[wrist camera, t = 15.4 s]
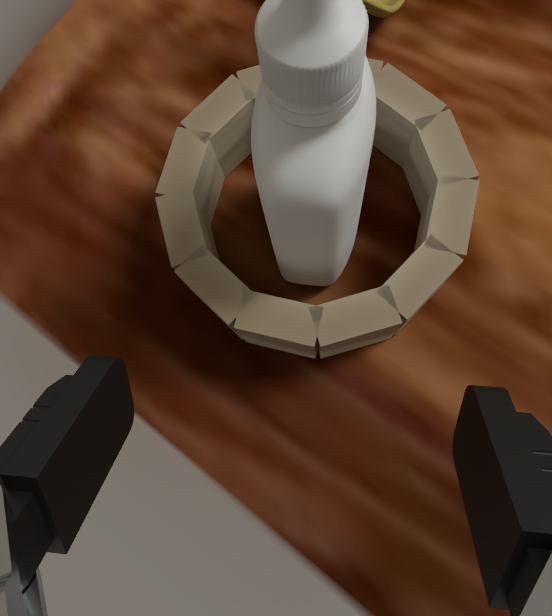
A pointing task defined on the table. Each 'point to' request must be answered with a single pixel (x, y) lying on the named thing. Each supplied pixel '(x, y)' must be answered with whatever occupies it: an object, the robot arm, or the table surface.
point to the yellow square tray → (382, 7)
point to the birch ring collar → (352, 309)
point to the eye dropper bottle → (312, 132)
